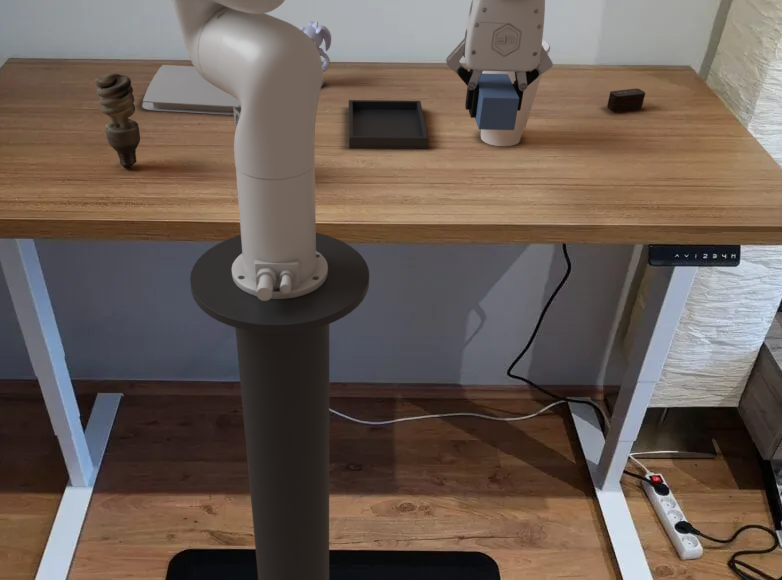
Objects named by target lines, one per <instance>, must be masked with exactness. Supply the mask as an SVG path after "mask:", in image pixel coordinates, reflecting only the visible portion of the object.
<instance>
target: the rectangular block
mask: <svg viewBox="0 0 782 580" xmlns="http://www.w3.org/2000/svg"><path fill="white" fill-rule="evenodd" d="M478 89H479V97H478V105H477V112H476V117H475V118H474V120H475V123H476V125H477V129H478V130H481V129H485V130H514V128H515V122H516V116H517V110H518V103H519V97H518V95H517V93H516V90H515V88H514V86H513V84H512V82H511V80H510V78H509V76H508V74H481V77H480V79H479V82H478Z"/></svg>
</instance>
